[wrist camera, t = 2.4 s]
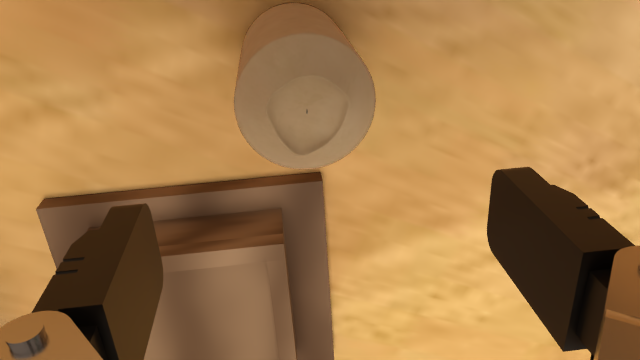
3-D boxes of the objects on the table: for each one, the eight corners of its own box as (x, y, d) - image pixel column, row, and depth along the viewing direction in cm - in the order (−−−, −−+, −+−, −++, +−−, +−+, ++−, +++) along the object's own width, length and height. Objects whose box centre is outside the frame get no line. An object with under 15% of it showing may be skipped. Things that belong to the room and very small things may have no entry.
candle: (323, 117, 30) (350, 201, 21) (229, 87, 28) (213, 162, 19) (360, 23, 28) (407, 71, 19) (260, -15, 26) (258, 17, 17)
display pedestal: (320, 172, 31) (330, 214, 27) (332, 348, 37) (341, 406, 33) (44, 198, 30) (5, 247, 26) (103, 375, 36) (81, 439, 32)
